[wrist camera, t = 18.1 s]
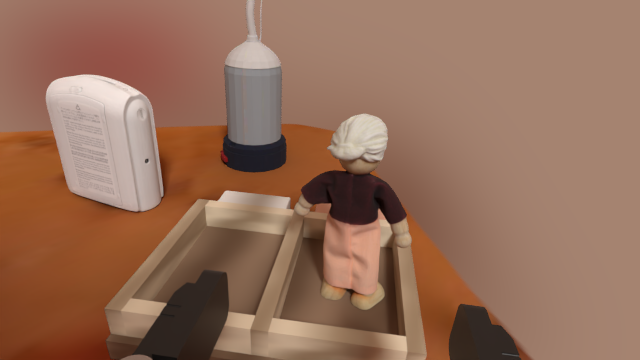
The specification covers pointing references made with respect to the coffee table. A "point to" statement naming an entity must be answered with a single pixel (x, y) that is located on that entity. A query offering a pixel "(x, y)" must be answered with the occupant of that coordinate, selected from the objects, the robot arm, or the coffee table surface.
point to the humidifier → (253, 105)
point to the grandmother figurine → (355, 212)
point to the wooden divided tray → (271, 287)
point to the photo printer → (106, 141)
